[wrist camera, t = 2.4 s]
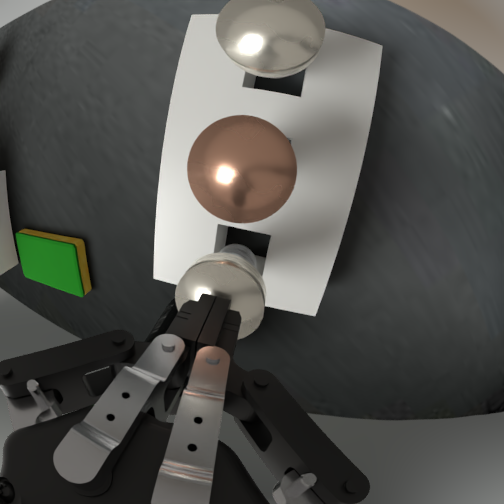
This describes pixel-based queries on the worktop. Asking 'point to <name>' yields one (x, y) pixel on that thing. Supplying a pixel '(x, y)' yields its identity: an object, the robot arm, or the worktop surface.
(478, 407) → the worktop surface
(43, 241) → the dish sponge
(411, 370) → the worktop surface
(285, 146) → the knob centre
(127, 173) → the worktop surface
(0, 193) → the white house-shaped block
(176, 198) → the mount
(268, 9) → the knob
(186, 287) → the knob
